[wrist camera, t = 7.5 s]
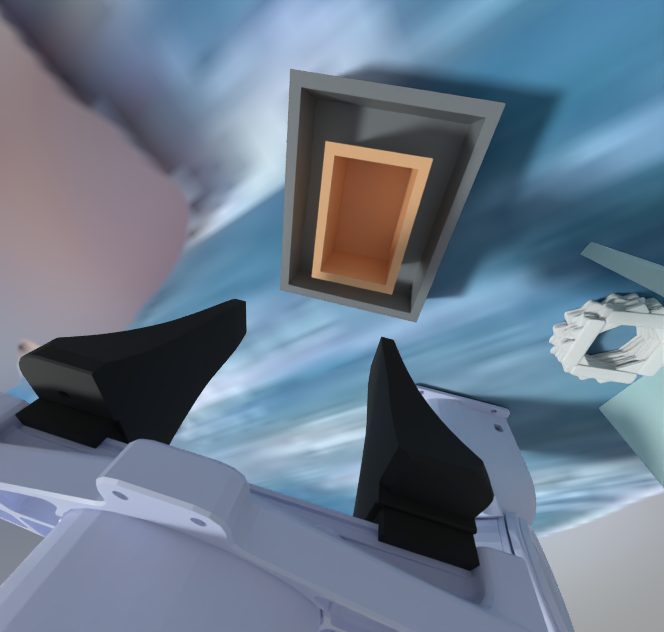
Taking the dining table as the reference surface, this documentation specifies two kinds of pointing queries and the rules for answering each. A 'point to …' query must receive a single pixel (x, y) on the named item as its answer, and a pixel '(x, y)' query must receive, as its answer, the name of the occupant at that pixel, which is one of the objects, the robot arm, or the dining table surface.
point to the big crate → (388, 135)
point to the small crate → (366, 214)
